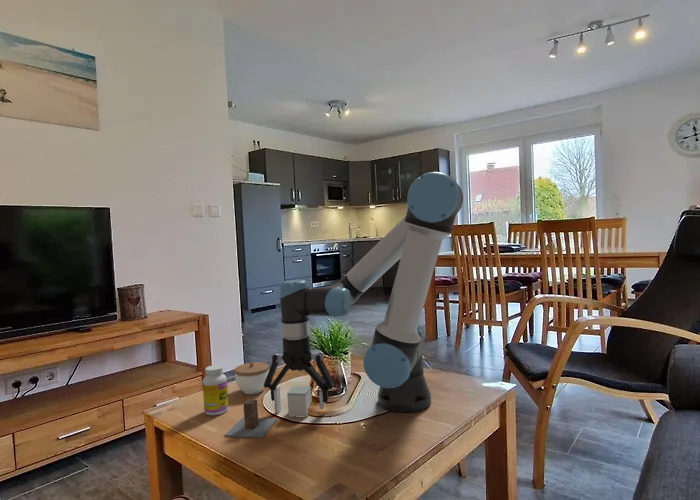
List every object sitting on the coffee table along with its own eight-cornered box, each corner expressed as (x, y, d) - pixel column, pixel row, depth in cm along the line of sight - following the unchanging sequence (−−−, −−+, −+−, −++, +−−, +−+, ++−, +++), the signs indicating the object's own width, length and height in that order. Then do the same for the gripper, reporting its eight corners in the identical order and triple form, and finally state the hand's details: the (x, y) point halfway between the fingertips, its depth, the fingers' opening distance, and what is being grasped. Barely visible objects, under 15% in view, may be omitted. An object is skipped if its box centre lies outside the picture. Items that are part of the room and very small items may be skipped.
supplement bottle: (221, 416, 120) (218, 371, 119) (200, 416, 121) (196, 371, 121) (232, 407, 127) (229, 363, 126) (212, 406, 128) (209, 363, 127)
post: (258, 426, 113) (257, 399, 113) (254, 430, 111) (252, 403, 110) (249, 425, 114) (247, 399, 113) (245, 430, 111) (243, 403, 111)
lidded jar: (276, 389, 139) (275, 360, 139) (249, 400, 131) (247, 369, 131) (256, 382, 146) (255, 355, 146) (229, 392, 138) (227, 363, 138)
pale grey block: (312, 409, 122) (311, 386, 121) (306, 417, 117) (305, 393, 116) (294, 408, 123) (293, 386, 123) (288, 416, 118) (287, 393, 117)
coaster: (277, 420, 116) (277, 418, 116) (262, 438, 106) (262, 436, 106) (242, 418, 118) (242, 417, 118) (225, 436, 108) (224, 434, 108)
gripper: (342, 333, 120) (346, 408, 121) (259, 333, 125) (264, 405, 126) (336, 340, 113) (340, 420, 114) (248, 339, 118) (253, 416, 119)
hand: (300, 412), depth 120 cm, fingers open, 12 cm apart
